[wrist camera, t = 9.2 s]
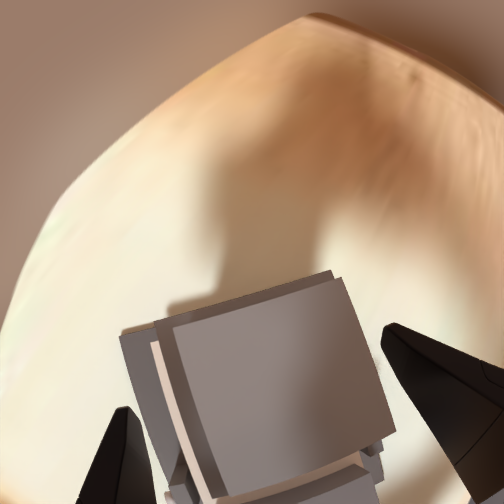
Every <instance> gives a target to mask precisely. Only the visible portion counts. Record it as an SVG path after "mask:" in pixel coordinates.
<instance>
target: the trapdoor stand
mask: <svg viewBox="0 0 504 504" xmlns="http://www.w3.org/2000/svg"><path fill="white" fill-rule="evenodd" d="M119 339H120V343H121V347H122V351H123V355H124V359H125V362H126V366H127V369H128V373H129V376H130V380H131V383H132V386H133V390H134V393H135V396H136V399H137V402H138V405H139V408H140V411H141V414H142V417H143V420H144V423H145V426H146V429H147V431H148V434H149V437H150V439H151V442H152V445H153V447H154V450H155V452H156V455H157V458H158V460H159V462H160V465H161V467H162V470H163V472H164V474H165V477H166V479H167V481H168V484H169V486H168V487H169V489H170V491H167V492H165V493H164V495H165V500H166V502H167V504H203V502H202V499H201V497H200V494H199V492H198V490H197V487H196V485H195V482H194V480H193V477H192V475H191V472H190V469H189V467H188V464H187V461H186V459H185V456H184V453H183V450H182V448H181V445H180V442H179V439H178V436H177V433H176V430H175V427H174V424H173V421H172V418H171V415H170V412H169V408H168V405H167V402H166V399H165V395H164V392H163V388H162V385H161V382H160V378H159V374H158V371H157V367H156V363H155V360H154V356H153V352H152V348H151V344H150V343H151V342H155V341H158V337H157V333H156V329H155V327H154V328H150V329H146V330H142V331H138V332H134V333H130V334H126V335H122V336H119ZM382 451H384V449H383V445H382V440H379V441H377V442H375V443H373V444H371V445H369V446H367V447H365V448H363V449H361V450H359V453H360V457H361V460H362V463H363V466H364V469H365V470H367V471H369V472H370V473H371V476H372V479H373V483H374V485H375V484H377V483H379V482H381V481H383V480H384V476H383V471H382V467H381V463H380V459H379V454H378V453H380V452H382Z"/></svg>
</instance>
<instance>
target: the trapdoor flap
mask: <svg viewBox="0 0 504 504" xmlns="http://www.w3.org/2000/svg"><path fill="white" fill-rule="evenodd" d="M150 344H151V348H152V352H153V356H154V360H155V363H156V367H157V371H158V374H159V378H160V382H161V385H162V388H163V392H164V395H165V399H166V402H167V405H168V408H169V412H170V415H171V418H172V421H173V424H174V427H175V430H176V433H177V436H178V439H179V442H180V445H181V448H182V450H183V453H184V456H185V459H186V461H187V464H188V467H189V469H190V472H191V475H192V477H193V480H194V482H195V485H196V487H197V490H198V492H199V494H200V497H201V499H202V502H203V504H380V503H379V500H378V496H377V493H376V490H375V486H374V483H373V479H372V476H371V473H370V472H369V471H367V470H365V469H364V466H363V463H362V460H361V457H360V453H359V451H357V452H355V453H353V454H351V455H349V456H346V457H344V458H342V459H340V460H337V461H335V462H333V463H330V464H328V465H326V466H323V467H321V468H318V469H316V470H313V471H311V472H308V473H306V474H303V475H300V476H297V477H295V478H292V479H289V480H286V481H283V482H280V483H277V484H274V485H271V486H268V487H265V488H261V489H258V490H254V491H251V492H247V493H244V494H240V495H236V496H232V497H230V496H229V495H228V496H224V497H219V498H215V499H212V498H211V495H210V493H209V490H208V488H207V486H206V483H205V481H204V478H203V476H202V473H201V471H200V468H199V466H198V463H197V460H196V458H195V455H194V452H193V450H192V447H191V444H190V441H189V439H188V436H187V433H186V430H185V427H184V424H183V421H182V418H181V415H180V412H179V409H178V406H177V403H176V400H175V397H174V394H173V390H172V387H171V384H170V380H169V377H168V374H167V370H166V367H165V363H164V360H163V356H162V352H161V349H160V345H159V341H155V342H151V343H150Z"/></svg>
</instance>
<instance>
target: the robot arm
mask: <svg viewBox="0 0 504 504" xmlns="http://www.w3.org/2000/svg"><path fill="white" fill-rule="evenodd" d="M381 348H382V350H383V352H384V354H385V356H386V358H387V360H388V362H389V364H390V365H391V367H392V369H393V371H394V373H395V375H396V377H397V379H398V381H399V382H400V384H401V386H402V387H403V389H404V390H405V392H406V393H407V395H408V396H409V398H410V399H411V401H412V402H413V404H414V405H415V407H416V408H417V410H418V411H419V413H420V414H421V416H422V417H423V419H424V421H425V422H426V424H427V425H428V427H429V428H430V430H431V431H432V433H433V435H434V436H435V438H436V439H437V441H438V442H439V444H440V446H441V447H442V449H443V450H444V452H445V454H446V455H447V457H448V458H449V460H450V462H451V463H452V465H453V466H454V468H455V470H456V472H457V473H458V475H459V477H460V478H461V480H462V482H463V483H464V485H465V487H466V488H467V490H468V492H469V493H470V495H471V497H472V499H473V500H474V502H475V503H476V504H480V503H482V502H483V501H485V500H486V499H488V498H489V497H491V496H493V495H494V494H496V493H497V492H498V491H500V490H501V489H503V488H504V369H502V368H499V367H497V366H494V365H492V364H489V363H487V362H485V361H483V360H479V359H478V358H475V357H473V356H471V355H469V354H466V353H464V352H462V351H459V350H457V349H455V348H452V347H450V346H448V345H446V344H443V343H441V342H439V341H436V340H434V339H432V338H430V337H427V336H425V335H423V334H420V333H418V332H416V331H414V330H411V329H409V328H407V327H405V326H402V325H400V324H398V323H391V324H388V325H386V326H385V327H384V328H383V332H382V337H381ZM75 504H157V502H156V496H155V490H154V483H153V476H152V469H151V464H150V460H149V456H148V451H147V447H146V443H145V439H144V434H143V430H142V425H141V422H140V420H139V418H138V417H137V416H136V414H135V413H134V412H133V410H132V409H131V408H130V407H129V406H124V407H119V408H117V409H116V410H115V412H114V414H113V416H112V419H111V421H110V423H109V425H108V428H107V430H106V432H105V434H104V437H103V439H102V441H101V443H100V446H99V448H98V450H97V453H96V455H95V457H94V460H93V462H92V464H91V467H90V469H89V472H88V474H87V476H86V479H85V481H84V484H83V486H82V489H81V491H80V494H79V498H77V501H76V503H75Z"/></svg>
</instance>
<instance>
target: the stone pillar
mask: <svg viewBox="0 0 504 504" xmlns="http://www.w3.org/2000/svg"><path fill="white" fill-rule="evenodd" d="M154 325H155V329H156V333H157V337H158V341H159V345H160V349H161V352H162V356H163V360H164V363H165V367H166V370H167V374H168V377H169V380H170V384H171V387H172V390H173V394H174V397H175V400H176V403H177V406H178V409H179V412H180V415H181V418H182V421H183V424H184V427H185V430H186V433H187V436H188V439H189V441H190V444H191V447H192V450H193V452H194V455H195V458H196V460H197V463H198V466H199V468H200V471H201V473H202V476H203V478H204V481H205V483H206V486H207V488H208V490H209V493H210V495H211V498H212V499H215V498H219V497H224V496H228V495H229V496H230V497H232V496H236V495H240V494H244V493H247V492H251V491H254V490H258V489H261V488H265V487H268V486H271V485H274V484H277V483H280V482H283V481H286V480H289V479H292V478H295V477H297V476H300V475H303V474H306V473H308V472H311V471H313V470H316V469H318V468H321V467H323V466H326V465H328V464H330V463H333V462H335V461H337V460H340V459H342V458H344V457H346V456H349V455H351V454H353V453H355V452H357V451H359V450H361V449H363V448H365V447H367V446H369V445H371V444H373V443H375V442H377V441H379V440H381V439H383V438H385V437H387V436H389V435H390V434H392V433H394V432H396V428H395V425H394V422H393V418H392V415H391V412H390V409H389V406H388V403H387V400H386V397H385V393H384V390H383V387H382V384H381V382H380V379H379V376H378V373H377V370H376V367H375V364H374V361H373V358H372V356H371V353H370V350H369V347H368V345H367V342H366V339H365V336H364V334H363V331H362V328H361V326H360V323H359V320H358V318H357V315H356V313H355V310H354V307H353V305H352V302H351V300H350V297H349V295H348V292H347V290H346V287H345V285H344V282H343V280H342V277H340V278H337V279H334V276H333V274H332V271H331V270H328V271H325V272H321V273H318V274H315V275H312V276H309V277H306V278H302V279H299V280H296V281H293V282H290V283H286V284H283V285H280V286H276V287H273V288H270V289H267V290H263V291H260V292H256V293H253V294H250V295H246V296H243V297H240V298H236V299H233V300H229V301H226V302H222V303H219V304H215V305H212V306H208V307H205V308H201V309H197V310H194V311H190V312H187V313H183V314H179V315H176V316H172V317H168V318H164V319H161V320H157V321H154Z"/></svg>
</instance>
